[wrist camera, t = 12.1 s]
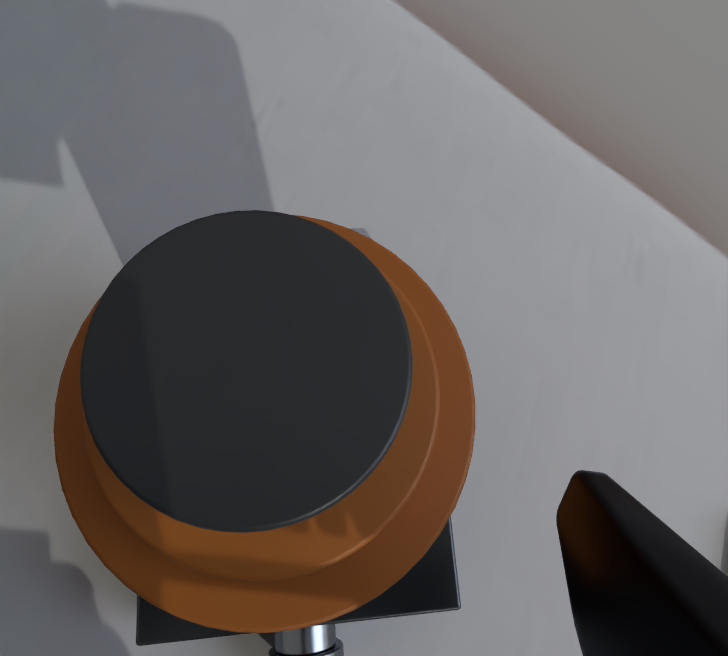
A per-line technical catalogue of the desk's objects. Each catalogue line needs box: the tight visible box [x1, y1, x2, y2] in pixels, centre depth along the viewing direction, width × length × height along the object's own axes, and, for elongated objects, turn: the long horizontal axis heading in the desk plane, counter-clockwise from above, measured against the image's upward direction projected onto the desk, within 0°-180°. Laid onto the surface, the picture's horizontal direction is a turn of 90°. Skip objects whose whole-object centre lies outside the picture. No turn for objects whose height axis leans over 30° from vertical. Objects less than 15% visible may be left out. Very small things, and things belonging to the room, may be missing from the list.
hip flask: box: [136, 516, 461, 656], centre depth 17 cm, size 12×9×3 cm
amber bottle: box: [54, 210, 475, 633], centre depth 10 cm, size 5×5×13 cm
